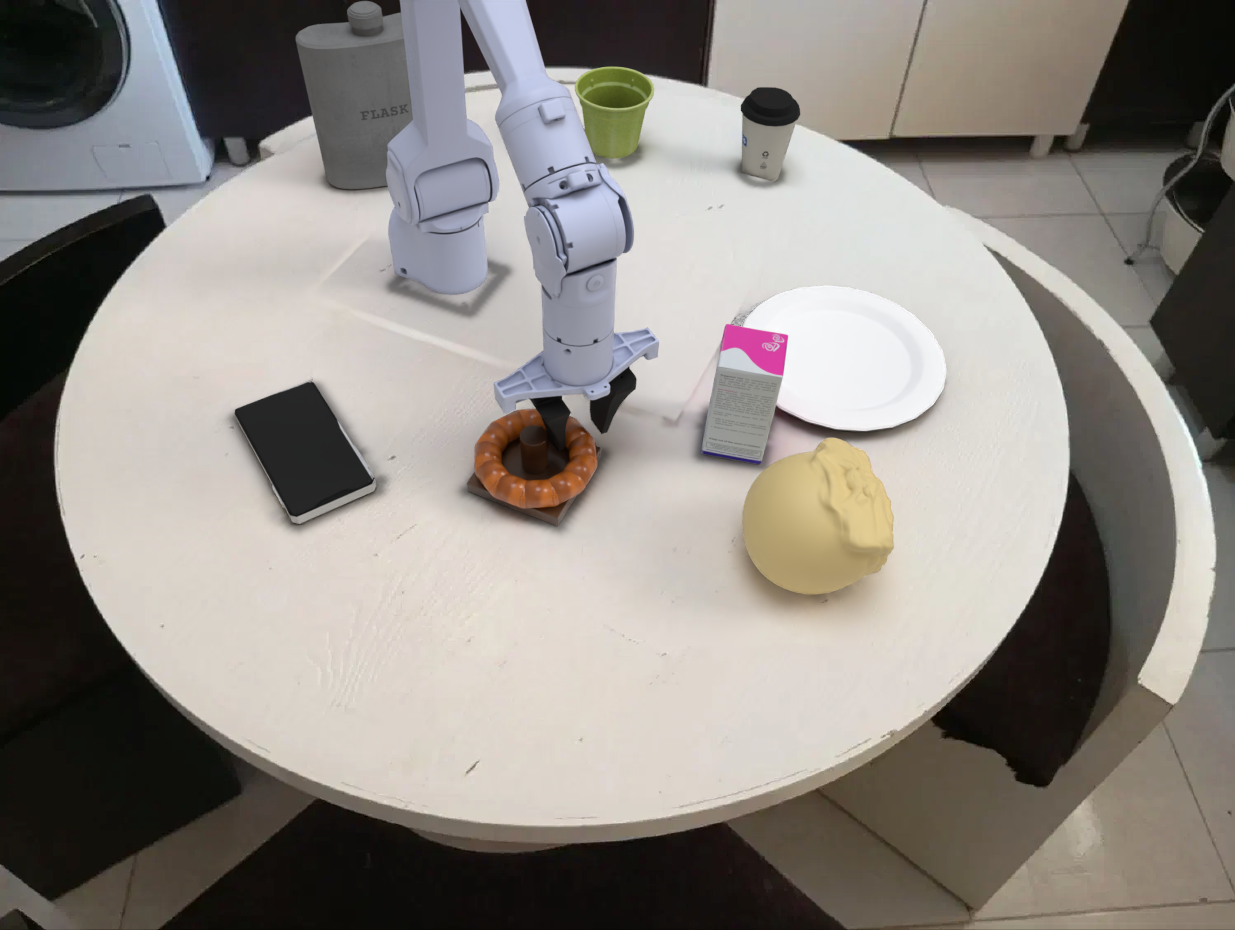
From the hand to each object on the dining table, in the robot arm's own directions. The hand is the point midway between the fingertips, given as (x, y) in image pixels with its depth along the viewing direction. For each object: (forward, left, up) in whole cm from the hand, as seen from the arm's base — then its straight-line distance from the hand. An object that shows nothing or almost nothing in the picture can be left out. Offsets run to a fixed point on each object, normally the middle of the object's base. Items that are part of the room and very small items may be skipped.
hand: (577, 434), depth 89 cm
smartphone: (-23, -11, -3) cm, 25 cm away
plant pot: (-18, +46, -3) cm, 50 cm away
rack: (-3, -4, -3) cm, 5 cm away
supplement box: (+12, +8, -3) cm, 15 cm away
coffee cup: (0, +50, -3) cm, 51 cm away
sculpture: (+22, -2, -3) cm, 23 cm away
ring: (-2, -4, -1) cm, 4 cm away
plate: (+19, +22, -3) cm, 29 cm away
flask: (-40, +30, -3) cm, 50 cm away
